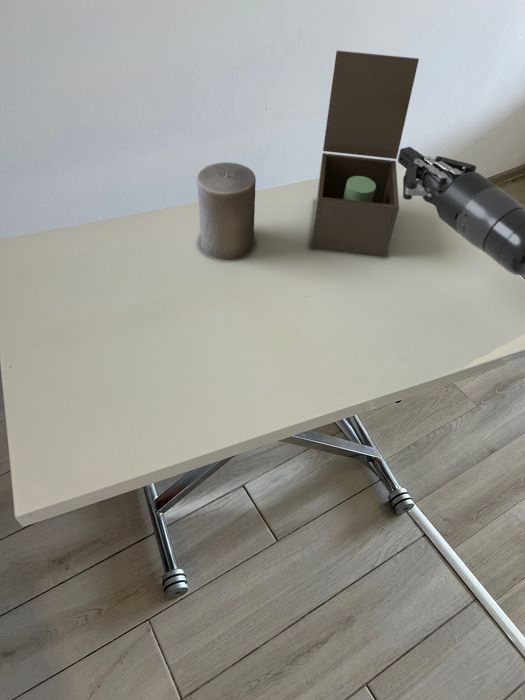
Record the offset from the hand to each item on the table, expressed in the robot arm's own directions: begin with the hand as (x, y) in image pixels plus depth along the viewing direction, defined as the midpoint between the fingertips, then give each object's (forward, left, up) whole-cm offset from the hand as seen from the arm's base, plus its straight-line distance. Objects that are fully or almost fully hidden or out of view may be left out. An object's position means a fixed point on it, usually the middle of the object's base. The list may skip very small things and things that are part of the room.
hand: (403, 153), depth 81 cm
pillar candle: (+27, +2, -20) cm, 34 cm away
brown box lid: (+5, -16, -1) cm, 17 cm away
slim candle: (+5, -7, -19) cm, 21 cm away
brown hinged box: (+5, -7, -20) cm, 22 cm away
